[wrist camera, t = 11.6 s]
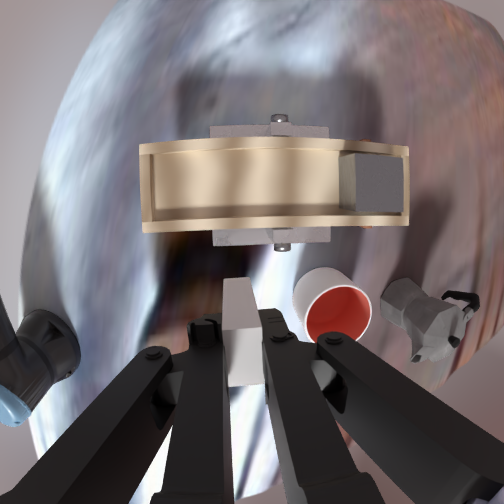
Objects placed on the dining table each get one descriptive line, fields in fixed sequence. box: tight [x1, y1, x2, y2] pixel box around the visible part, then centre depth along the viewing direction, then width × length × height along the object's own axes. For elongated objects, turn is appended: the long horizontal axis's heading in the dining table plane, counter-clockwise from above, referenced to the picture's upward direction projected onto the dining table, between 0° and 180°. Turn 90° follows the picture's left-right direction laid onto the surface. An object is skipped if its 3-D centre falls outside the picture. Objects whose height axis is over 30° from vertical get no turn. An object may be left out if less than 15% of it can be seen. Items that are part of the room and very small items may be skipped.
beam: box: [139, 137, 410, 233], centre depth 33 cm, size 32×11×4 cm, turn 91°
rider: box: [338, 153, 404, 212], centre depth 30 cm, size 6×6×5 cm
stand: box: [210, 114, 331, 252], centre depth 38 cm, size 18×18×11 cm
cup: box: [293, 267, 372, 343], centre depth 43 cm, size 10×10×10 cm
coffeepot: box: [380, 277, 480, 364], centre depth 40 cm, size 15×9×18 cm, turn 124°
